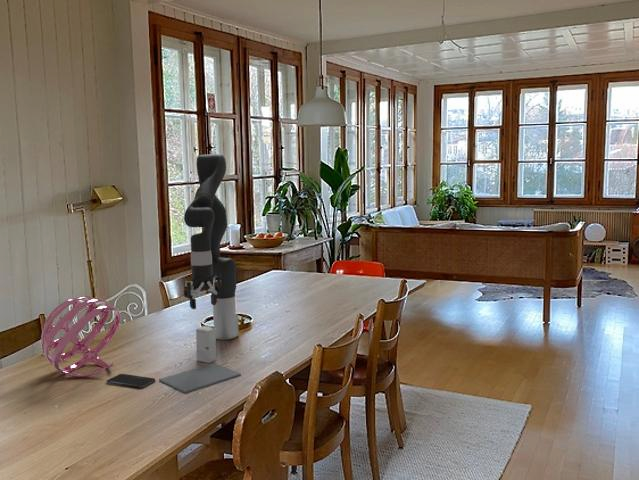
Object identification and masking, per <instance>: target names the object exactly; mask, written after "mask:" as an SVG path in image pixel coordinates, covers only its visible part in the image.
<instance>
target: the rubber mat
mask: <svg viewBox="0 0 639 480" xmlns="http://www.w3.org/2000/svg"><path fill="white" fill-rule="evenodd" d="M241 375H242V373H240V372H238V371H236V370H234V369H233V370H232V369H230V368H227V367H226V366H223V365H220V364H219V363H218V364H217V363H216V362H211V363H209V364H205V365H203V366H202V365H201V366H199V367H195V368H192V369H189V370H185V371H182V372H179V373H175V374H172V375H169V376H166V377H165V376H164V377H162V378H159V379H158V381H159V382H161V383H163V384H165V385H166V386H169V387H171V388H173V389H175V390H177V391H178V392H181V393H183V394H187V393H191V392H194V391H197V390H200V389H203V388H207V387H209V386H212V385H215V384H218V383H222V382H224V381H227V380H230V379H234V378H237V377H240V376H241Z"/></svg>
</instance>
